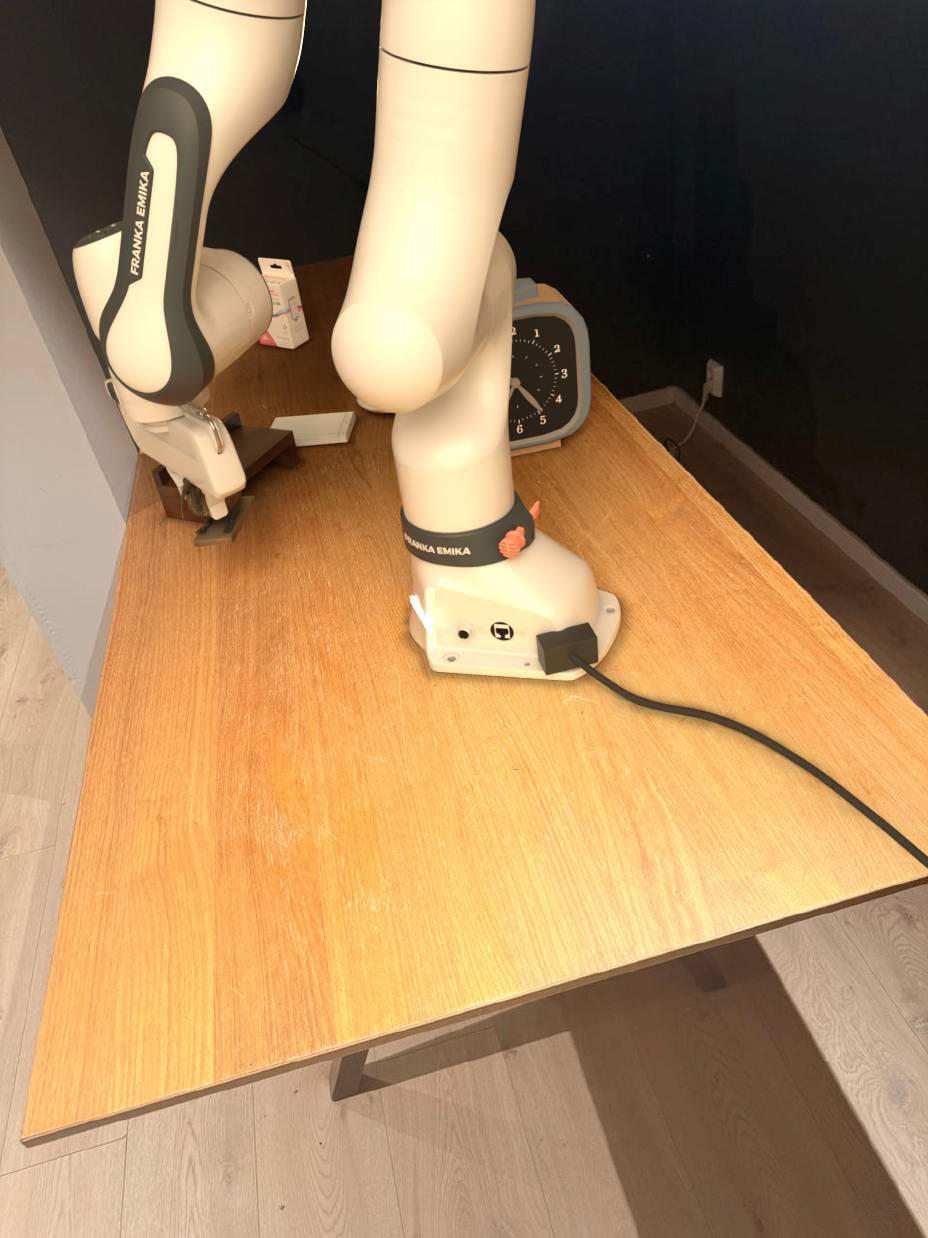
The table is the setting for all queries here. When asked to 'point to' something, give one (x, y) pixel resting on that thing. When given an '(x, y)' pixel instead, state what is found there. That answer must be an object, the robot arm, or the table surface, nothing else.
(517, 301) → the alarm clock
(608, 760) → the table surface
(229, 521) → the figurine
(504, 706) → the table surface
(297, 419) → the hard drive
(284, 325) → the ink cartridge box
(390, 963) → the table surface
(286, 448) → the shelf
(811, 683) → the table surface
